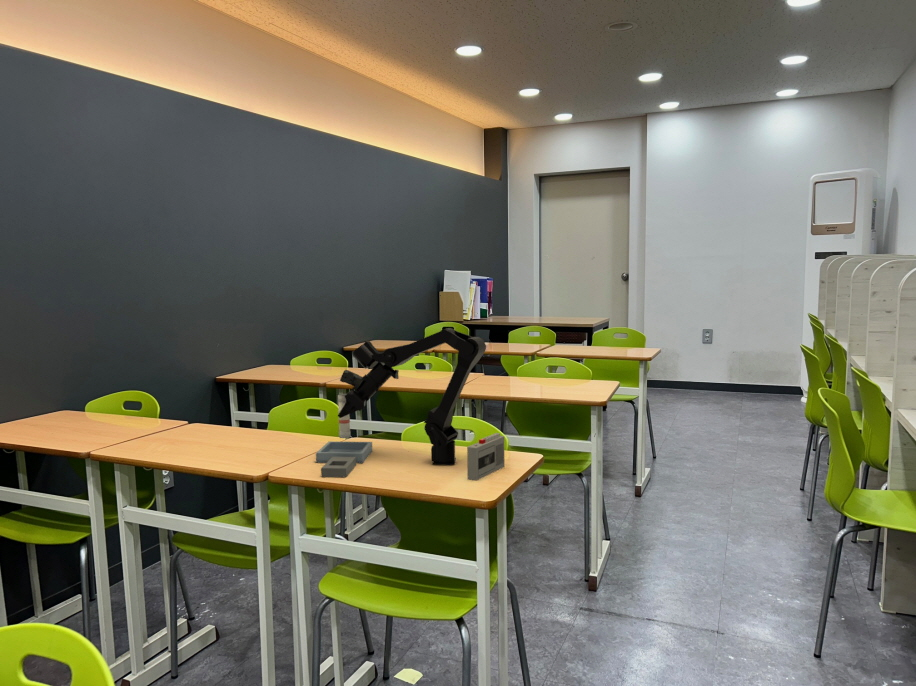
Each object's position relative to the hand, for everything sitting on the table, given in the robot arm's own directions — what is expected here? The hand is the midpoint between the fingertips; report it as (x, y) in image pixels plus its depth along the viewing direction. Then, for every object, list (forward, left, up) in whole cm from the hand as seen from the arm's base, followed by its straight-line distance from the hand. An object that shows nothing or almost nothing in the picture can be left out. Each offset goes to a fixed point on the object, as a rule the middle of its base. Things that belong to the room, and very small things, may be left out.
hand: (339, 415), depth 200 cm
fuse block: (-3, +15, -13) cm, 20 cm away
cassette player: (-45, +15, -13) cm, 49 cm away
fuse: (-1, 0, -7) cm, 7 cm away
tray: (-1, 0, -13) cm, 13 cm away
